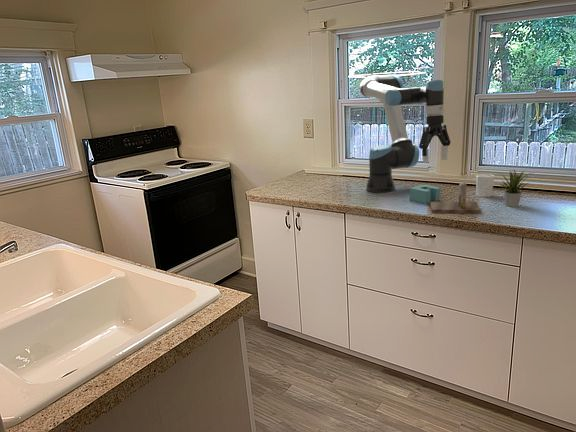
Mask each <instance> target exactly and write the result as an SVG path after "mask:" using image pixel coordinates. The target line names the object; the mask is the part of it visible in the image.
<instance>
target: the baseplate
mask: <svg viewBox="0 0 576 432" xmlns="http://www.w3.org/2000/svg"><path fill="white" fill-rule="evenodd" d="M466 197H467V183H466V182H460V183H459V187H458V201H430V203H429V206H430V207H429V208H430V211H431V213H433V214H434V213H435V214H482V209H481V207H480V206H479V204H478V202H477V201H467V198H466Z"/></svg>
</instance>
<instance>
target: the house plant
mask: <svg viewBox="0 0 576 432" xmlns="http://www.w3.org/2000/svg"><path fill="white" fill-rule="evenodd" d="M524 172H525V171H521V172H520V174H517V172H516V170H515V169H513V170H512V171H511V170H509V180H508V178H507V177H506V176H504V175H503V174H502V173H499V172H498V174H500V175H501V176H502V177H503V178H504V180H505V181H506V182H505V181H503V180H501V182H502V183H503V184H499V185H500V186H501V187H503V188H505V189H506V190H504V192H503V193H504V203H505V206H506V207H511V208H515V207H517V208H518V207H519V205H520V201H521V197H522V194H523V191H521V190H522V189H523V188H525V186H528V184H530V182H527V183H524V182H525V180H527V179H529V178H530V176H529V175H531V174H534V172H533V173H532V172H529V173H526V174H525V175H524ZM523 175H524V176H523ZM525 177H526V178H525Z"/></svg>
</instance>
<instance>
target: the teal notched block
mask: <svg viewBox="0 0 576 432" xmlns="http://www.w3.org/2000/svg"><path fill="white" fill-rule="evenodd" d="M441 189H442V188H441V187H438V186H433V185H429V184H421V185H417V186H412V187H409V201H413V202H416V203H420V204H425V205H426V204H430V202H431V201H432V202H439V201H441Z"/></svg>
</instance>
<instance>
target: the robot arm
mask: <svg viewBox="0 0 576 432" xmlns="http://www.w3.org/2000/svg"><path fill="white" fill-rule="evenodd" d="M403 87H404V83H403V81H402V78H401V77H400V75H397V74H392V73H391V74H380V75H369V76H367V77H365V78H364V79H363V80H362V81H361V83H360V85H359V91H360V93H361V94H362V95H363V97H365V98H368V99H372V98H375V99H377V100H379V102H380V103H382V104H383V107H384V112H385V115H386V121H387V125H388V130H389V134H390V138H391V142H392V143H391V144H380V145H376V146H373V147H371V148H370V150H369V156H368V159H369V160H368V161H369V176H368V180H367V182H366V185H365V187H366V191H367V192H371V193H389V192H393V191H395V190H396V189H395V188H396V186H395V181H394V178H393V175H392V174H393V173H392V171H393V170H395V169H407V168H413V167H415V166H416V165H417V164H418V162H419V159H420V150H421V151H422V152H421V153H422V154H421V155H422V163H423V164H429V163H430V155H429V154H430V153H429V151H430V149H429V148H428V147H430V144H431V141H432V140H433V138H434V137H437V138H438V140H439V142H440V143H441V146H440V149H441V150H440V151H441V153H440V154H441V155H440V158H441V160H442V161H443V160H448V146H449V147H450V144H451V139H450V136H449V133H448V129H447V124H443V123H444V115H443V114H444V89H445V88H444V81H443V80H442V79H435V80H434V79H433V80H427V81H426V83H425V86H418V87H417V86H416V87H404V88H403ZM422 104H426V105H425V108H426V109H425V115H426V117H425V118H426V119H425V121H426V125H427V126H423V129H422V130H423V131H422V134H421V137H420V141H419V145H418V146H417V145H416V144H413V141H412V139H410V138H409V136H408V131H407V128H406V123H405V119H404V114H403V112H402V111H403V109H402V107H401V106H403V105H422ZM419 149H420V150H419Z"/></svg>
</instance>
